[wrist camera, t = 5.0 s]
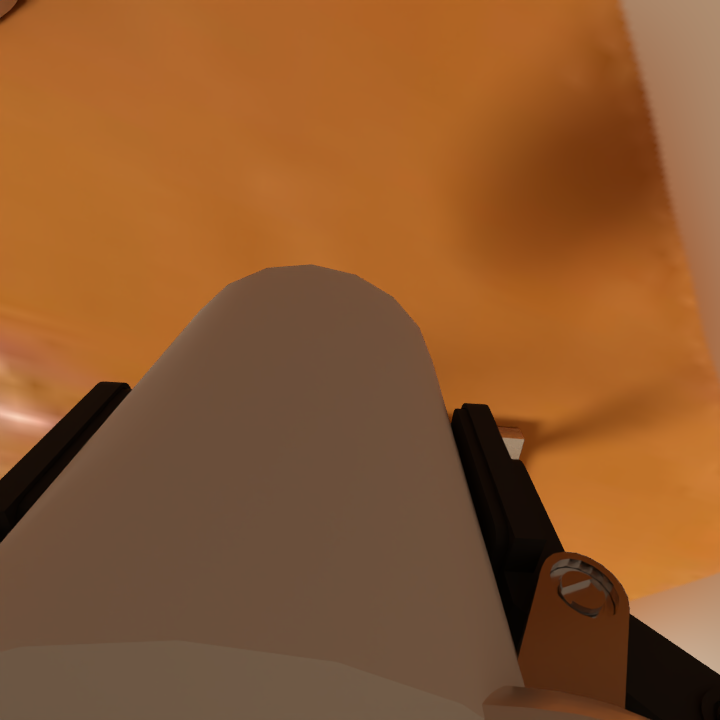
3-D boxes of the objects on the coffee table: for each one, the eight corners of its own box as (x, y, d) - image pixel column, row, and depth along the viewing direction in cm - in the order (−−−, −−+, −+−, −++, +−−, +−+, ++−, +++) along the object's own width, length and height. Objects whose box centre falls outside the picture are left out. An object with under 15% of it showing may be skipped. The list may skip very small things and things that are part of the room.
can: (473, 312, 13) (952, 1140, 2) (373, 486, 16) (392, 1155, 6) (225, 212, 12) (-1082, 1072, 1) (171, 423, 15) (-286, 1143, 4)
